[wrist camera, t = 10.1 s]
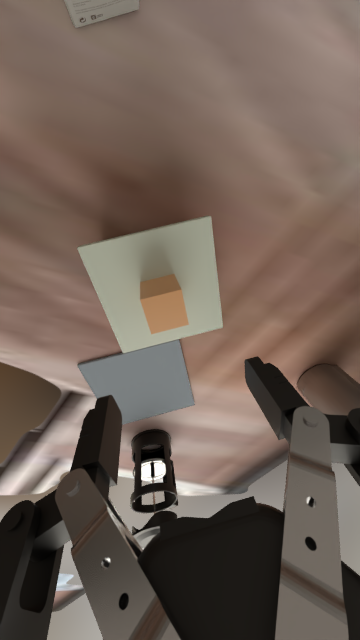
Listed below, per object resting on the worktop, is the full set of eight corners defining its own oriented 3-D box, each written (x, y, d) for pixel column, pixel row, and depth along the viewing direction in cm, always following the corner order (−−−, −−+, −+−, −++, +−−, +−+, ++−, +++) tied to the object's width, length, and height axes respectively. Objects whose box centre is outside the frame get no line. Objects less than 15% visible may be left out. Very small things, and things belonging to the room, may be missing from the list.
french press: (120, 443, 49) (107, 606, 29) (149, 422, 47) (156, 581, 27) (155, 459, 55) (164, 604, 35) (182, 440, 53) (208, 584, 33)
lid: (207, 215, 23) (228, 219, 17) (220, 323, 30) (237, 349, 25) (79, 245, 22) (60, 259, 17) (123, 348, 29) (120, 380, 24)
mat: (178, 338, 37) (179, 339, 37) (194, 402, 46) (194, 404, 46) (78, 364, 36) (77, 365, 36) (114, 424, 46) (113, 426, 45)
